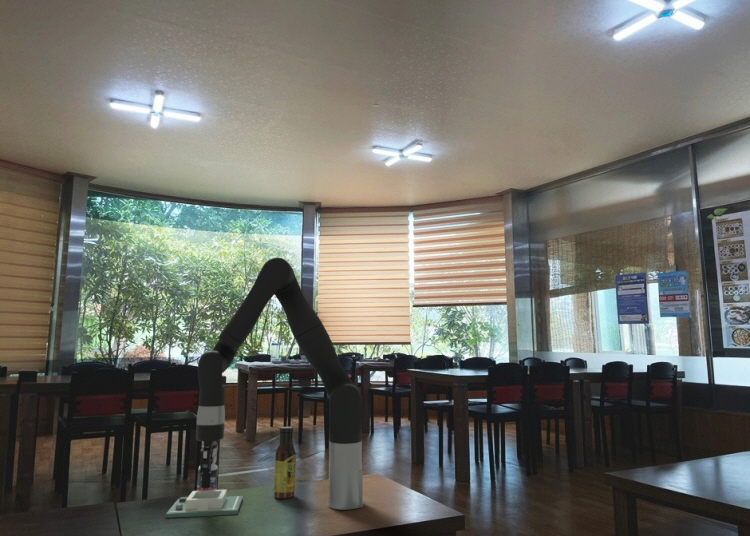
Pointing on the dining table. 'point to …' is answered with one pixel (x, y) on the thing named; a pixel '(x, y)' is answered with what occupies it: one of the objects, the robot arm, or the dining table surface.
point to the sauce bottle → (285, 465)
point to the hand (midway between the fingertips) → (207, 485)
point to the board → (205, 504)
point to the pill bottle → (212, 480)
